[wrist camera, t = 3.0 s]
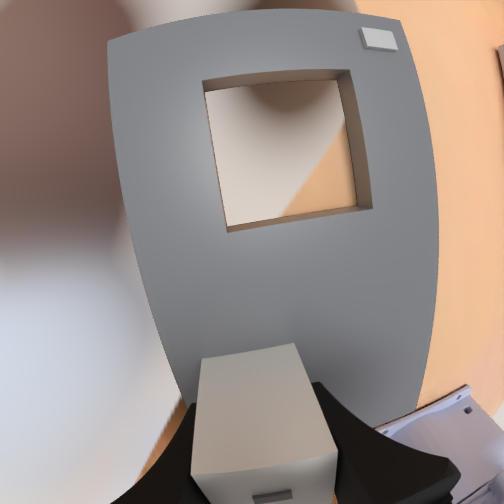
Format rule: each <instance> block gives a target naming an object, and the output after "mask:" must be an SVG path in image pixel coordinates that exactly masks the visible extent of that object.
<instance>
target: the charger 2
mask: <svg viewBox="0 0 504 504" xmlns="http://www.w3.org/2000/svg"><path fill="white" fill-rule="evenodd" d="M498 53H499V57H500V62H501V66H502V71H503V77H504V45H501V46H499V47H498Z"/></svg>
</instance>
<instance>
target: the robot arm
mask: <svg viewBox="0 0 504 504" xmlns="http://www.w3.org/2000/svg"><path fill="white" fill-rule="evenodd" d="M311 385H312V388H313V390H314V393H315V395H316V398H317V400H318V403H319V405H320V408H321V410H322V413H323V415H324V418H325V420H326V423H327V425H328V428H329V430H330V433H331V435H332V438H333V440H334V443H335V445H336V448H337V450H338V456H337V468H336V478H335V487H334V491H335V494H336V498H337V501H338V504H504V431H503V430H502V429H501V428H500V427H499V426H498V425H497V424H496V423H495V421H494V420H493V419H492V418H491V417H490V416H489V415H488V414H487V413H486V412H485V411H484V410H483V409H482V408H481V407H480V406H479V405H478V404H477V403H476V402H475V400H474V399H473V398H472V397H471V396H470V395H469V394H470V392H471V387H470V386H469V385H467V386H465V387H463V388H462V389H460V390H458V391H456V392H455V393H453V394H451V395H449V396H447V397H445V398H443V399H441V400H439V401H438V402H436V403H434V404H432V405H429V406H427V407H425V408H423V409H421V410H419V411H417V412H415V413H412V414H410V415H408V416H405V417H403V418H401V419H398V420H396V421H393V422H391V423H388V424H386V425H383V426H381V427H378V428H376V429H373V428H372V427H370V426H369V425H367V424H366V423H364V422H363V421H362V420H360V419H359V418H358V417H356V416H355V415H354V414H353V413H351V412H350V411H349V410H348V409H347V408H346V407H344V406H343V405H342V404H341V403H340V402H339V401H338V400H337V399H336V398H335V397H334V396H333V395H332V394H331V393H330V392H329V391H328V390H327V389H326V388H325V387H324V385H323V384H322V383H321V382H319V381H318V382H314V383H311ZM196 407H197V402H196V403H191V405H190V406H189V408H188V410H187V412H186V414H185V416H184V418H183V420H182V422H181V424H180V426H179V428H178V429H177V431H176V433H175V434H174V436H173V438H172V440H171V441H170V443H169V444H168V446H167V447H166V449H165V450H164V452H163V453H162V454H161V456H160V457H159V458H158V460H157V461H156V462H155V464H154V465H153V466H152V467H151V468H150V469H149V471H148V472H147V473H146V474H145V475H144V476H143V477H142V478H141V479H140V480H139V481H138V482H137V483H136V484H135V485H134V486H133V487H131V488H130V489H129V490H128V491H127V492H126V493H124V494H123V495H122V496H120V497H119V498H118V499H116V500H115V501H114V502H112V503H111V504H211V503H210V501H209V500H208V499H207V497H206V496H205V495H204V493H203V492H202V490H201V489H200V487H199V486H198V485H197V483H196V482H195V480H194V479H193V477H192V476H191V463H192V450H193V439H194V427H195V417H196Z"/></svg>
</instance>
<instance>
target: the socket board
mask: <svg viewBox="0 0 504 504" xmlns="http://www.w3.org/2000/svg"><path fill="white" fill-rule="evenodd" d="M107 43H108V44H107V48H108V49H107V53H108V79H109V95H110V108H111V118H112V127H113V136H114V144H115V152H116V158H117V165H118V172H119V178H120V184H121V189H122V194H123V200H124V205H125V210H126V214H127V219H128V224H129V229H130V233H131V238H132V242H133V246H134V250H135V254H136V258H137V262H138V266H139V270H140V274H141V277H142V281H143V285H144V288H145V292H146V295H147V298H148V302H149V305H150V308H151V311H152V315H153V318H154V321H155V324H156V327H157V330H158V333H159V336H160V339H161V342H162V345H163V347H164V350H165V353H166V356H167V359H168V361H169V364H170V366H171V369H172V372H173V375H174V377H175V380H176V382H177V385H178V387H179V389H180V392H181V395H182V397H183V400H184V402H185V404H186V407H187V409H188V408H189V406H190V405H191V403H196V402H197V397H198V387H199V378H200V369H201V361H202V359H203V358H210V357H217V356H224V355H231V354H237V353H243V352H249V351H254V350H260V349H265V348H270V347H276V346H281V345H285V344H290V343H294V344H295V346H296V349H297V351H298V353H299V356H300V358H301V361H302V363H303V366H304V368H305V371H306V373H307V376H308V378H309V381H310V383H314V382H318V381H319V382H321V383H322V384H323V385H324V387H325V388H326V389H327V390H328V391H329V392H330V393H331V394H332V395H333V396H334V397H335V398H336V399H337V400H338V401H339V402H340V403H341V404H342V405H343V406H344V407H346V408H347V409H348V410H349V411H350V412H351V413H353V414H354V415H355V416H356V417H358V418H359V419H360V420H362V421H363V422H364V423H366V424H367V425H369V426H370V427H372V428H374V427H377V426H379V425H382V424H385V423H387V422H390V421H392V420H395V419H397V418H400V417H402V416H404V415H407V414H409V413H411V412H414V411H415V410H416V406H417V402H418V398H419V395H420V391H421V386H422V382H423V378H424V373H425V368H426V364H427V358H428V353H429V347H430V341H431V335H432V328H433V321H434V312H435V303H436V292H437V279H438V257H439V218H438V197H437V183H436V172H435V163H434V155H433V148H432V141H431V135H430V129H429V123H428V118H427V113H426V108H425V103H424V99H423V94H422V90H421V86H420V82H419V78H418V75H417V71H416V67H415V64H414V61H413V57H412V54H411V51H410V48H409V45H408V42H407V39H406V36H405V33H404V30H403V28H402V25H401V23H400V21H399V20H395V19H390V18H385V17H379V16H373V15H367V14H360V13H352V12H343V11H332V10H316V9H265V10H264V9H263V10H248V11H237V12H228V13H220V14H213V15H206V16H200V17H194V18H189V19H184V20H180V21H175V22H170V23H166V24H162V25H158V26H154V27H150V28H147V29H143V30H140V31H137V32H133V33H130V34H127V35H124V36H121V37H118V38H115V39H112V40H110V41H107ZM313 80H337V83H338V88H339V92H340V97H341V101H342V106H343V111H344V116H345V121H346V127H347V133H348V138H349V144H350V151H351V157H352V164H353V171H354V179H355V187H356V195H357V206H351V207H344V208H337V209H330V210H324V211H317V212H311V213H305V214H298V215H292V216H286V217H280V218H274V219H268V220H262V221H256V222H251V223H245V224H239V225H234V226H228V227H227V223H226V218H225V212H224V207H223V200H222V195H221V189H220V183H219V177H218V172H217V166H216V160H215V154H214V148H213V142H212V136H211V130H210V123H209V117H208V111H207V104H206V98H205V92H208V91H214V90H220V89H226V88H233V87H240V86H248V85H257V84H266V83H277V82H291V81H313Z"/></svg>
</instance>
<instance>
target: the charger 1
mask: <svg viewBox="0 0 504 504" xmlns="http://www.w3.org/2000/svg"><path fill="white" fill-rule="evenodd" d="M337 456H338V450H337V448H336V445H335V443H334V440H333V438H332V435H331V433H330V430H329V428H328V425H327V423H326V420H325V418H324V415H323V413H322V410H321V408H320V405H319V403H318V400H317V398H316V395H315V393H314V390H313V388H312V385H311V383H310V381H309V378H308V376H307V373H306V371H305V368H304V366H303V363H302V361H301V358H300V356H299V353H298V351H297V349H296V346H295V344H294V343H290V344H285V345H281V346H276V347H270V348H265V349H260V350H254V351H249V352H243V353H237V354H231V355H224V356H217V357H210V358H203V359H202V361H201V369H200V378H199V387H198V397H197V407H196V417H195V427H194V439H193V450H192V463H191V476H192V477H193V479H194V480H195V482H196V483H197V485H198V486H199V487H200V489H201V490H202V492H203V493H204V495H205V496H206V497H207V499H208V500H209V501H210V503H211V504H330V503H333V495H334V487H335V478H336V468H337Z"/></svg>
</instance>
